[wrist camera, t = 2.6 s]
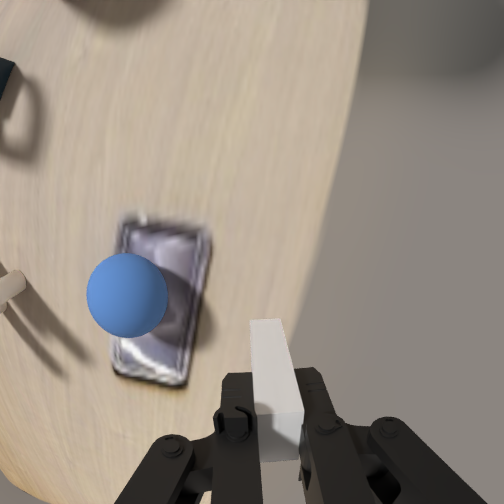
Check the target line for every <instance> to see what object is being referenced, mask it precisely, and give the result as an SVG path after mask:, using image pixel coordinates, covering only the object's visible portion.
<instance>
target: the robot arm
mask: <svg viewBox="0 0 504 504" xmlns="http://www.w3.org/2000/svg"><path fill="white" fill-rule="evenodd" d="M250 343H251V368H252V372H245V373H228V374H227V375H226V376H225V378H224V379H223V381H222V392H221V405H220V408H219V409H218V410H217V411H216V412H215V414H214V416H213V421H214V427H215V432H214V433H213V434H211V435H210V436H208V437H205V438H202V439H198V440H193V441H189V440H188V439H187V438H186V437H183V436H181V435H175V434H170V435H164V436H162V437H160V438H158V439H157V440H156V441H155V442H154V443H153V444H152V446H151V447H150V449H149V451H148V452H147V454H146V455H145V457H144V458H143V460H142V461H141V463H140V465H139V466H138V468H137V469H136V471H135V472H134V474H133V475H132V477H131V478H130V480H129V482H128V483H127V485H126V486H125V488H124V489H123V491H122V492H121V494H120V495H119V497H118V498H117V500H116V501H115V503H114V504H199V503H200V501H201V499H202V496H203V494H204V492H206V491H211V490H212V493H211V504H263V496H262V484H261V470H260V462H276V461H286V460H297V459H298V458H299V454H300V459H301V466H300V472H299V481H301V480H302V484H303V489H304V495H305V500H306V504H487V503H486V502H485V501H484V500H483V499H482V498H481V497H480V496H479V495H478V494H477V493H476V492H475V491H474V490H473V489H472V488H471V487H470V486H469V485H467V483H465V482H464V481H463V480H462V479H461V478H460V477H459V476H458V475H457V474H456V473H455V472H454V471H453V470H452V469H451V468H450V467H449V466H448V465H447V464H446V463H445V462H444V461H443V460H442V459H441V458H440V457H439V456H438V455H437V454H436V453H435V452H434V451H433V450H432V449H430V447H428V446H427V445H426V444H425V443H424V442H423V441H422V440H421V439H420V438H419V437H418V436H417V435H416V434H415V433H414V432H413V431H412V430H411V429H410V428H409V427H408V426H407V425H406V424H405V423H404V422H403V421H401V420H400V419H397V418H394V417H382V418H379V419H377V420H375V421H374V422H373V423H372V425H371V426H370V427H369V426H354V425H350V424H347V423H345V422H344V421H343V419H342V418H340V417H339V416H337V415H336V413H335V410H334V408H333V405H332V402H331V399H330V397H329V394H328V392H327V390H326V386H325V384H324V381H323V378H322V376H321V374H320V373H319V372H318V371H317V370H316V369H315V368H314V367H310V368H299V369H293V365H292V361H291V357H290V354H289V350H288V346H287V342H286V338H285V334H284V331H283V327H282V323H281V319H280V318H277V319H256V320H250Z"/></svg>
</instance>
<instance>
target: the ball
mask: <svg viewBox="0 0 504 504" xmlns="http://www.w3.org/2000/svg"><path fill="white" fill-rule="evenodd" d="M87 303H88V307H89V310H90V312H91V315H92V316H93V318H94V320H95V321H96V322H97V323H98V325H99V326H100V327H102V328H103V329H104V330H105V331H107V332H108V333H110V334H112V335H115V336H118V337H124V338H133V337H139V336H142V335H144V334H146V333H148V332H150V331H151V330H153V329H154V328H155V327H156V326H157V325H158V324H159V322H160V321H161V320H162V318H163V316H164V314H165V311H166V308H167V303H168V291H167V286H166V283H165V280H164V278H163V276H162V274H161V272H160V271H159V270H158V268H157V267H156V266H155V265H154V264H153V263H152V262H150V261H149V260H147V259H146V258H144V257H142V256H139V255H135V254H130V253H123V254H117V255H113V256H111V257H109V258H107V259H105V260H104V261H102V262H101V263H100V264H99V265H98V266H97V267H96V268H95V270H94V271H93V273H92V274H91V276H90V279H89V282H88V286H87Z"/></svg>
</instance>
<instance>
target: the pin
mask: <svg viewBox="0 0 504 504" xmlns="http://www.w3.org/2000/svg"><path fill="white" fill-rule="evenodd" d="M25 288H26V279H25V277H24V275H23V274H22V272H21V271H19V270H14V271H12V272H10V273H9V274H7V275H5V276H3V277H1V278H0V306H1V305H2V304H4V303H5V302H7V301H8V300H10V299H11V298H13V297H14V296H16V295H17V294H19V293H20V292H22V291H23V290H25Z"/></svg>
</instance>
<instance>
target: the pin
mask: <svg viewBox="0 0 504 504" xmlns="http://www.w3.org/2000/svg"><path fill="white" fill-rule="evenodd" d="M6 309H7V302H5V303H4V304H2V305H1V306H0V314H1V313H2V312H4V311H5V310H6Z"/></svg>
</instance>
